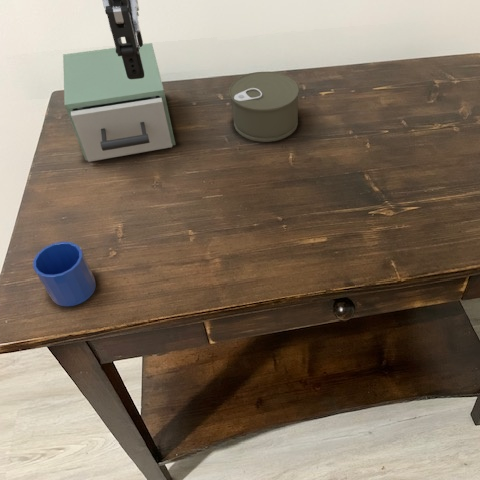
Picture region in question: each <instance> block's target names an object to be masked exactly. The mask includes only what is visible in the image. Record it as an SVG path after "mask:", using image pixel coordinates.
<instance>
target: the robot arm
mask: <svg viewBox="0 0 480 480" xmlns="http://www.w3.org/2000/svg"><path fill="white" fill-rule="evenodd" d="M102 5H103V8H104V12H105V15H107V20H108V25H109V30H110V32H111V35H112V38H113V39H112V40H113V42H114V46H115V47H114V48H116V53H117V54H118V56H122V59H123V63H124V67H125V70H126V74H127V77H128V78H129V79H141V78H144V69H143V65H142V61H141V56H140V51H139V49H140V47H142V46H143V44H144V41H143V36H142V32H141V28H140V24H139V23H140V22H139V16H140V14H139V11H140V7H139V0H102ZM122 38H124V39H125V42H124V43H123V41H122Z"/></svg>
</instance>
